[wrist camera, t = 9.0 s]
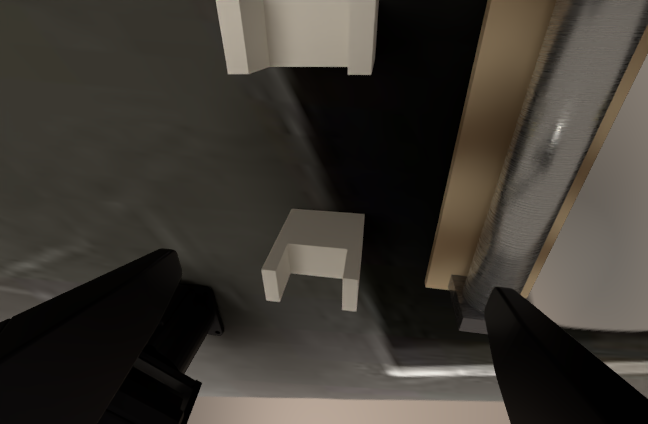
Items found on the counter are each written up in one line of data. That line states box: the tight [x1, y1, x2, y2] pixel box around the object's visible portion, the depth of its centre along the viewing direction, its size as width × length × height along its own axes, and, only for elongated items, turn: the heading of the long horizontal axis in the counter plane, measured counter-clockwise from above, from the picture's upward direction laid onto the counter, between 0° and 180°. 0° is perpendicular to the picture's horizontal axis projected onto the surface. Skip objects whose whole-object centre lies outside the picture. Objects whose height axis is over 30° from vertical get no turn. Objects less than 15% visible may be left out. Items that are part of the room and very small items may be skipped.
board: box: [425, 0, 648, 298], centre depth 17 cm, size 21×7×1 cm, turn 1°
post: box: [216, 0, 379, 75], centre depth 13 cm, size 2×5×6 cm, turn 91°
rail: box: [448, 0, 648, 334], centre depth 15 cm, size 20×4×4 cm, turn 1°
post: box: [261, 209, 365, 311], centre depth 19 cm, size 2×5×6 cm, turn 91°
